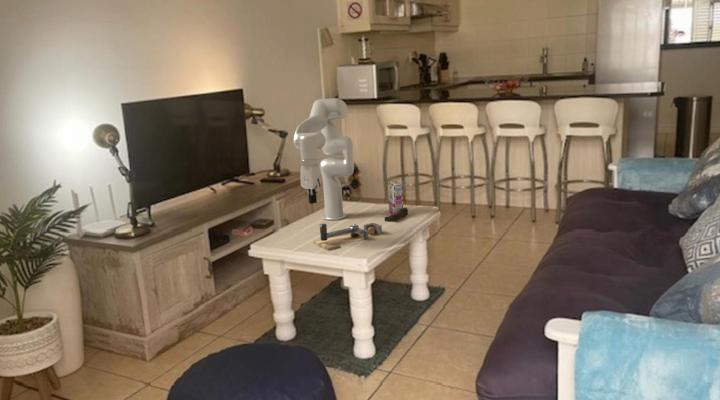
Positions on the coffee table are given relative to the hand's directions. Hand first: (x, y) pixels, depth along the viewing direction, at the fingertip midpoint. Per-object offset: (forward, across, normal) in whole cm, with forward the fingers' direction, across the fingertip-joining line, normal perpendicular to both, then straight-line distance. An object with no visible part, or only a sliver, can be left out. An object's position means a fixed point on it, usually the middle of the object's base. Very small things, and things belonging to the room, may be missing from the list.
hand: (312, 202), depth 266 cm
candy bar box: (+18, -6, +58) cm, 61 cm away
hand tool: (+18, +1, +51) cm, 54 cm away
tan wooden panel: (+18, +10, +12) cm, 24 cm away
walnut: (+17, +14, +22) cm, 31 cm away
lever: (+17, +12, +7) cm, 22 cm away
